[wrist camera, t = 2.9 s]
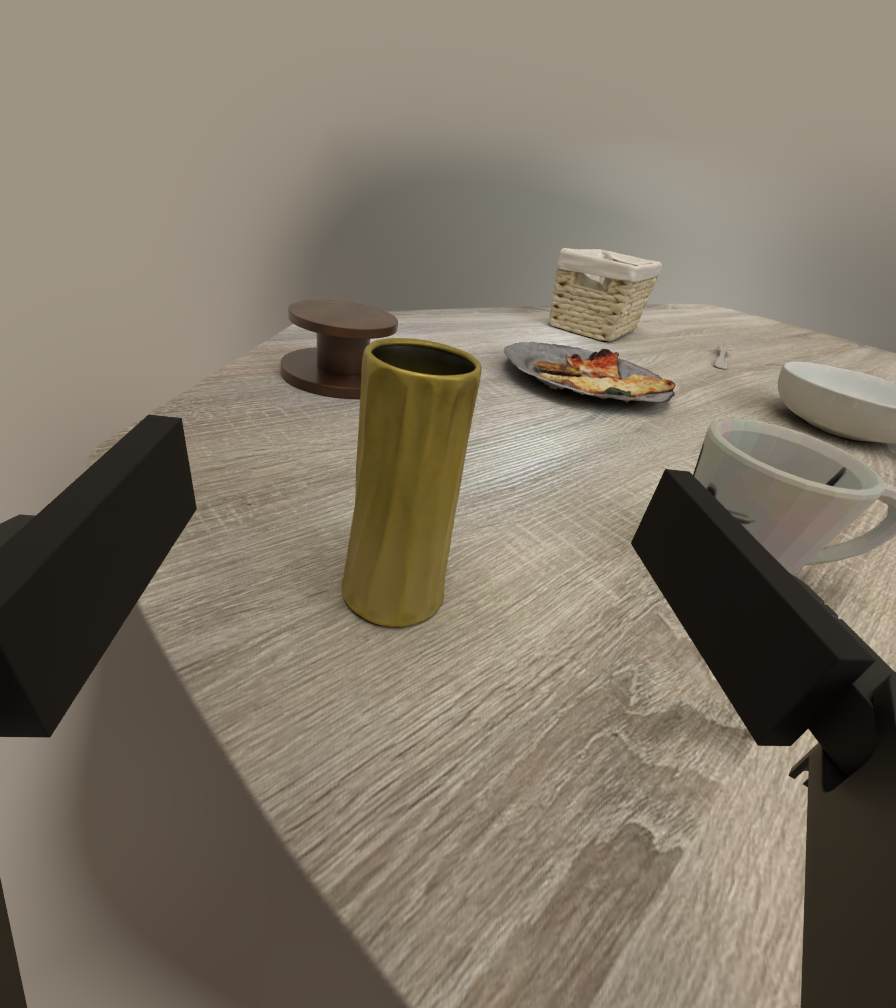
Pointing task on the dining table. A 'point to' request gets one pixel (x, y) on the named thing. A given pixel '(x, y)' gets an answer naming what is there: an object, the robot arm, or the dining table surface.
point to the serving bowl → (840, 401)
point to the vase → (407, 476)
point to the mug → (792, 490)
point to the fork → (722, 356)
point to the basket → (601, 292)
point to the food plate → (589, 372)
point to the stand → (334, 345)
